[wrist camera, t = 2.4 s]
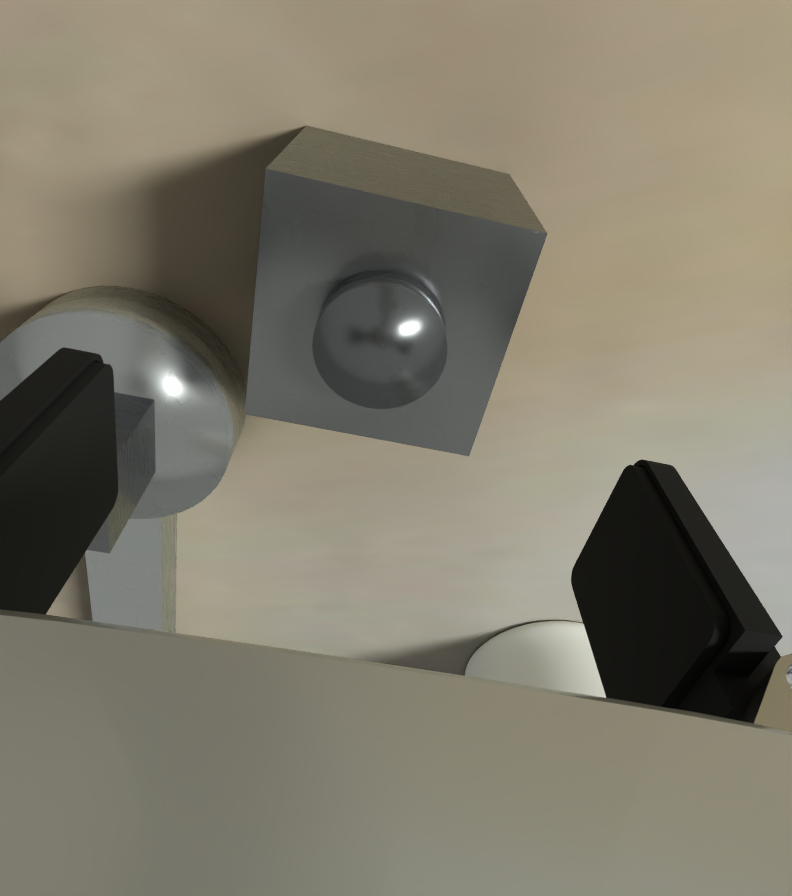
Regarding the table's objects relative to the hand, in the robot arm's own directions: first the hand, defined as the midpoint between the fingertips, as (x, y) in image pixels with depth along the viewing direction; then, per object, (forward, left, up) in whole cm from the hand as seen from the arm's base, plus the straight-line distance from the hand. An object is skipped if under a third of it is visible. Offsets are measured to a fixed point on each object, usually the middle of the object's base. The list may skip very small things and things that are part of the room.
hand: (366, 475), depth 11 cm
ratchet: (+14, -8, -10) cm, 19 cm away
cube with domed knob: (-1, 0, -11) cm, 10 cm away
